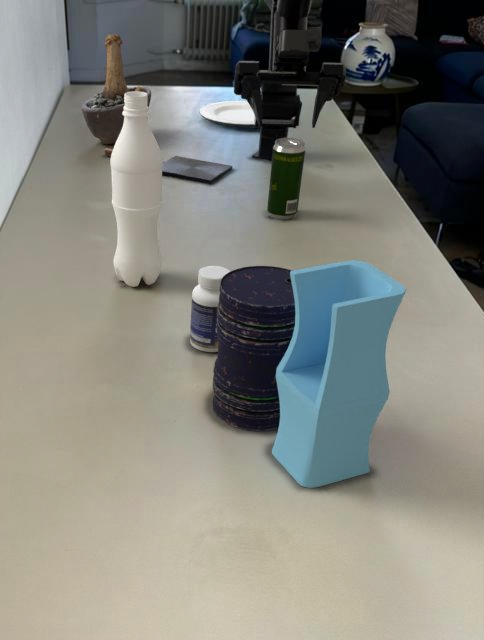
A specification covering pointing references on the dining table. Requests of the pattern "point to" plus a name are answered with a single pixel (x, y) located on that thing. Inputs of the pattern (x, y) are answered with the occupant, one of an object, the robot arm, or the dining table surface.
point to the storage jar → (252, 345)
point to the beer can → (285, 178)
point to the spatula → (190, 168)
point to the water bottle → (137, 194)
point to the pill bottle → (206, 309)
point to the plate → (230, 114)
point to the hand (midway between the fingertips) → (287, 125)
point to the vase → (334, 370)
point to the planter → (110, 97)
